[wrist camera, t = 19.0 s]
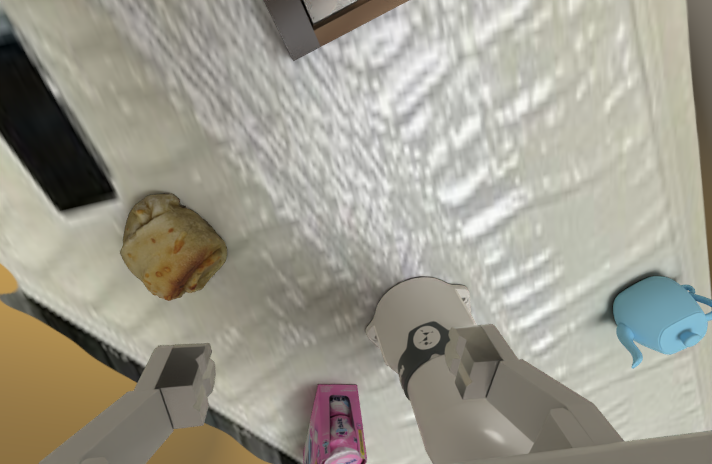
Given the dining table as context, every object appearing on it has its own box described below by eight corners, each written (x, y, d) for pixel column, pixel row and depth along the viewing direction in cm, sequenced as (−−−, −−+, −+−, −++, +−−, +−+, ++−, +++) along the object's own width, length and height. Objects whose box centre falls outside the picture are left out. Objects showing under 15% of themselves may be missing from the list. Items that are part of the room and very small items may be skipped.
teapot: (628, 351, 54) (741, 293, 51) (580, 307, 63) (673, 256, 60) (640, 389, 60) (742, 339, 57) (595, 343, 69) (680, 298, 66)
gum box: (317, 378, 62) (321, 455, 50) (359, 378, 64) (372, 453, 52) (302, 453, 73) (302, 532, 61) (338, 452, 74) (345, 528, 63)
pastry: (229, 284, 50) (217, 321, 43) (137, 280, 48) (108, 319, 41) (227, 196, 44) (213, 223, 37) (121, 187, 41) (84, 214, 34)
